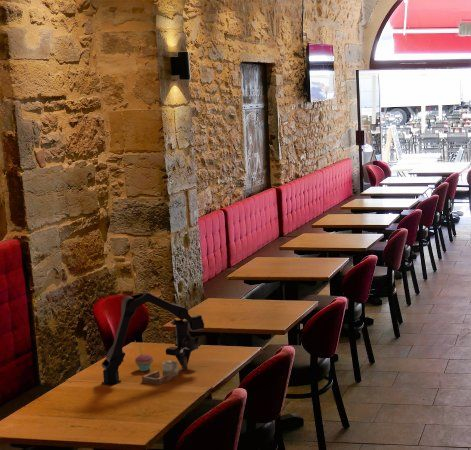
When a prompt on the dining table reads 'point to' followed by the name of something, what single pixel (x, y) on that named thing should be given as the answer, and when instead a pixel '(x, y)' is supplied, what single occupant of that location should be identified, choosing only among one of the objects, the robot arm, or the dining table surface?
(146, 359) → the cupcake
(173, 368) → the block with cord
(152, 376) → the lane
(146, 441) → the dining table surface
